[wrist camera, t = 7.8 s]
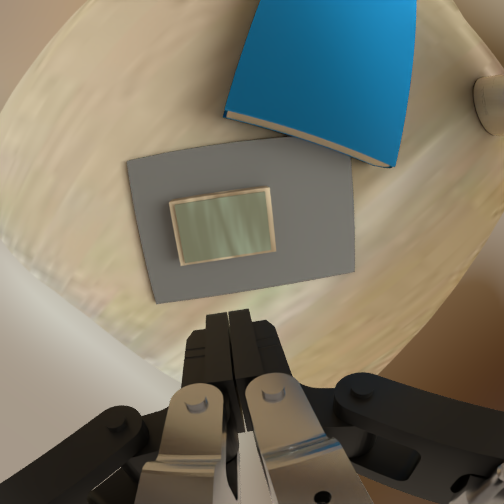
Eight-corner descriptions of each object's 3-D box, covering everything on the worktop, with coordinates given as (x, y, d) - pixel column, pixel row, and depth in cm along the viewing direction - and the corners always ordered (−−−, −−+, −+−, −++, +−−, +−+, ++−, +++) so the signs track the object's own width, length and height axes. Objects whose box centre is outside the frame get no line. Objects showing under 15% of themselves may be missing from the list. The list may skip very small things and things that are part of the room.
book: (223, 111, 21) (286, -71, 15) (222, 119, 25) (278, -51, 19) (401, 170, 25) (421, -11, 18) (378, 168, 29) (403, 1, 22)
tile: (270, 187, 25) (168, 202, 25) (276, 252, 27) (180, 267, 27) (265, 185, 28) (172, 199, 27) (272, 245, 29) (182, 258, 29)
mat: (345, 134, 28) (348, 134, 27) (352, 269, 32) (354, 271, 32) (128, 161, 26) (126, 161, 25) (157, 301, 30) (156, 304, 30)
